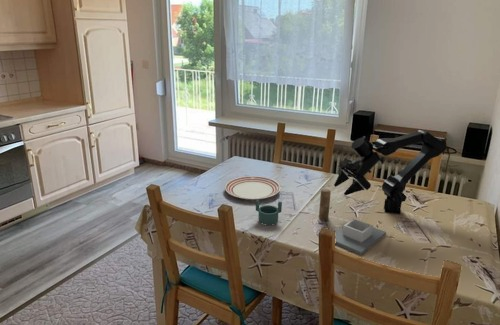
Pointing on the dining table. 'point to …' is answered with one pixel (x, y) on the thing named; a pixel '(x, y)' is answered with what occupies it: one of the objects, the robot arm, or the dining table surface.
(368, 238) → the cup socket
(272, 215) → the teal handled pot
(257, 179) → the dinner plate
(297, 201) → the dining table surface
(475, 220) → the dining table surface
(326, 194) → the dowel post
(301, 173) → the dining table surface
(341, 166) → the robot arm
